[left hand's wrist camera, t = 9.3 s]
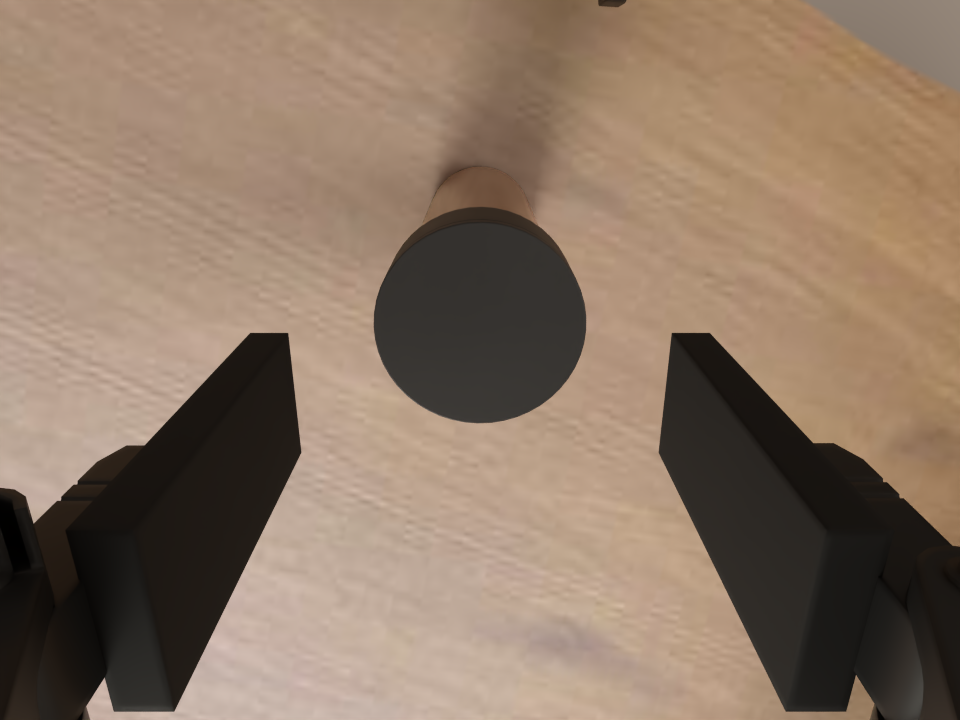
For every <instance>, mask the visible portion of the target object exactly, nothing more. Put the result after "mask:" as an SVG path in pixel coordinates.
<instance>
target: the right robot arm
mask: <svg viewBox="0 0 960 720" xmlns="http://www.w3.org/2000/svg"><path fill="white" fill-rule="evenodd" d="M625 2H626V0H598V4H599V6H607V7H619V6H621V5H623V4H624V3H625Z"/></svg>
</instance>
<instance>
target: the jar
mask: <svg viewBox="0 0 960 720" xmlns="http://www.w3.org/2000/svg"><path fill="white" fill-rule="evenodd" d="M468 207H491V208H498V209H502V210H507V211H510V212H513V213H515V214H518V215H521V216H522V217H524V218H526V219H528V220H530V221H532V222H533V223H535V224H536V225H537V226H538V224H537V221H536V219H535V217H534V214H533V212H532V210H531V207H530V205H529V203H528V200H527V198H526V196H525V193H524V192H523V190H522V189H521V187H520V186H519V185H518V183H517V182H516V181H515V180H514V179H512V178H511V177H510V176H508V175H507V174H505V173H504V172H502V171H499V170H497V169H494V168H490V167H471V168H466V169H463V170H460V171H458V172H456V173H455V174H453V175H452V176H450V177H449V178H448V179H446V180H445V181H444V182H443V184H442V185H441V186H440V187H439V189H438V190H437V192H436V194H435V196H434V198H433V200H432V203H431V205H430V207H429V210H428V212H427V214H426V217H425V219H424V221H423V224H422V225H424V224H425V223H427V222H429V221H430V220H432V219H434V218H436V217H438V216H440V215H442V214H444V213H447V212H450V211H453V210H457V209H462V208H468Z"/></svg>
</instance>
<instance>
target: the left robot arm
mask: <svg viewBox="0 0 960 720" xmlns="http://www.w3.org/2000/svg"><path fill="white" fill-rule="evenodd" d="M300 454H301V445H300V436H299V427H298V418H297V409H296V400H295V391H294V382H293V373H292V364H291V355H290V346H289V337H288V333H250V334H249V335H248V336H247V337H246V338H245V339H244V340H243V341H242V342H241V343H240V345H239V346H238V347H237V348H236V349H235V350H234V351H233V352H232V353H231V354H230V355H229V356H228V357H227V358H226V359H225V361H224V362H223V363H222V364H221V365H220V366H219V367H218V368H217V369H216V370H215V371H214V372H213V373H212V374H211V375H210V376H209V378H208V379H207V380H206V381H205V382H204V383H203V384H202V385H201V386H200V387H199V388H198V389H197V390H196V391H195V392H194V394H193V395H192V396H191V397H190V398H189V399H188V400H187V401H186V402H185V403H184V404H183V405H182V406H181V407H180V408H179V410H178V411H177V412H176V413H175V414H174V415H173V416H172V417H171V418H170V419H169V420H168V421H167V422H166V423H165V424H164V425H163V427H162V428H161V429H160V430H159V431H158V432H157V433H156V434H155V435H154V436H153V437H152V438H151V439H150V440H149V441H148V443H147V444H146V445H145V446H125V447H123V448H121V449H120V450H118V451H116V452H114V453H112V454H111V455H109V456H107V457H105V458H103V459H101V460H100V461H98V462H97V463H96V464H95V465H93V466H92V467H91V468H90V469H89V470H88V471H87V472H86V473H85V474H84V475H83V476H82V477H81V478H80V479H79V480H78V484H77V485H73V486H72V487H71V488H70V489H69V490H68V491H67V492H66V493H65V494H64V495H63V496H62V497H61V501H57V502H56V503H55V504H54V505H52V506H51V507H50V508H49V509H48V510H47V511H46V512H45V513H44V514H43V515H42V516H41V517H40V518H39V519H38V520H37V521H36V522H35V523H34V524H33V520H32V517H31V513H30V510H29V507H28V503H27V500H26V496H24V495H22V494H21V493H19V492H18V491H16V490H13V489H5V488H0V720H90V718H89V714H88V711H87V707H86V706H87V704H88V702H89V701H90V699H91V698H92V696H93V695H94V693H95V691H96V690H97V688H98V687H99V685H100V684H101V682H102V681H103V679H104V677H105V680H106V684H107V687H108V691H109V695H110V699H111V702H112V706H113V710H114V712H174V711H175V709H176V707H177V705H178V703H179V701H180V699H181V697H182V695H183V693H184V691H185V688H186V686H187V684H188V682H189V680H190V678H191V676H192V674H193V672H194V670H195V668H196V666H197V664H198V662H199V660H200V658H201V656H202V654H203V652H204V650H205V648H206V646H207V644H208V642H209V640H210V638H211V636H212V633H213V631H214V629H215V627H216V625H217V623H218V621H219V619H220V617H221V615H222V613H223V611H224V609H225V607H226V605H227V603H228V601H229V599H230V597H231V595H232V593H233V591H234V589H235V587H236V585H237V583H238V580H239V578H240V576H241V574H242V572H243V570H244V568H245V566H246V564H247V562H248V560H249V558H250V556H251V554H252V552H253V550H254V548H255V546H256V544H257V542H258V540H259V538H260V536H261V534H262V532H263V530H264V528H265V525H266V523H267V521H268V519H269V517H270V515H271V513H272V511H273V509H274V507H275V505H276V503H277V501H278V499H279V497H280V495H281V493H282V491H283V489H284V487H285V485H286V483H287V481H288V479H289V477H290V475H291V473H292V470H293V468H294V466H295V464H296V462H297V460H298V458H299V456H300ZM659 454H660V456H661V458H662V460H663V462H664V464H665V466H666V468H667V470H668V473H669V475H670V477H671V479H672V481H673V483H674V485H675V487H676V489H677V491H678V493H679V495H680V497H681V499H682V501H683V503H684V505H685V507H686V509H687V511H688V513H689V515H690V517H691V519H692V521H693V523H694V525H695V528H696V530H697V532H698V534H699V536H700V538H701V540H702V542H703V544H704V546H705V548H706V550H707V552H708V554H709V556H710V558H711V560H712V562H713V564H714V566H715V568H716V570H717V572H718V574H719V576H720V578H721V580H722V583H723V585H724V587H725V589H726V591H727V593H728V595H729V597H730V599H731V601H732V603H733V605H734V607H735V609H736V611H737V613H738V615H739V617H740V619H741V621H742V623H743V625H744V627H745V629H746V631H747V633H748V636H749V638H750V640H751V642H752V644H753V646H754V648H755V650H756V652H757V654H758V656H759V658H760V660H761V662H762V664H763V666H764V668H765V670H766V672H767V674H768V676H769V678H770V680H771V682H772V684H773V686H774V688H775V691H776V693H777V695H778V697H779V699H780V701H781V703H782V705H783V707H784V709H785V711H786V712H846V710H847V706H848V702H849V699H850V695H851V691H852V687H853V684H854V680H855V676H856V675H857V677H858V678H859V680H860V682H861V683H862V685H863V686H864V688H865V689H866V691H867V692H868V694H869V696H870V697H871V699H872V700H873V702H874V703H875V704H874V707H873V711H872V714H871V718H870V720H960V547H957V546H952V545H951V544H950V543H949V542H948V541H947V540H946V539H945V538H944V537H943V536H942V535H941V534H940V533H939V532H938V531H937V530H936V529H935V528H934V527H933V526H932V525H930V524H929V523H928V522H927V521H926V520H925V519H924V518H923V517H922V516H921V515H920V514H919V513H918V512H917V511H916V510H915V509H914V508H913V507H912V506H911V505H910V504H909V503H908V502H907V501H906V500H905V499H904V498H900V497H899V494H898V493H897V492H896V491H895V490H894V489H893V488H892V487H891V486H890V485H889V484H888V483H887V482H883V478H882V477H881V476H880V475H879V474H878V473H877V472H876V471H875V470H874V469H873V468H872V467H871V466H870V465H868V464H867V463H866V462H865V461H864V460H863V459H861V458H860V457H858V456H856V455H854V454H852V453H851V452H849V451H847V450H845V449H843V448H841V447H840V446H838V445H836V444H834V443H812V441H811V440H810V439H809V438H808V437H807V436H806V435H805V434H804V433H803V432H802V431H801V430H800V429H799V428H798V427H797V425H796V424H795V423H794V422H793V421H792V420H791V419H790V418H789V417H788V416H787V415H786V414H785V413H784V412H783V411H782V410H781V408H780V407H779V406H778V405H777V404H776V403H775V402H774V401H773V400H772V399H771V398H770V397H769V396H768V395H767V394H766V392H765V391H764V390H763V389H762V388H761V387H760V386H759V385H758V384H757V383H756V382H755V381H754V380H753V379H752V378H751V376H750V375H749V374H748V373H747V372H746V371H745V370H744V369H743V368H742V367H741V366H740V365H739V364H738V363H737V362H736V361H735V359H734V358H733V357H732V356H731V355H730V354H729V353H728V352H727V351H726V350H725V349H724V348H723V347H722V346H721V345H720V343H719V342H718V341H717V340H716V339H715V338H714V337H713V336H712V335H711V334H710V333H672V337H671V346H670V355H669V364H668V373H667V382H666V391H665V400H664V409H663V418H662V427H661V436H660V445H659Z"/></svg>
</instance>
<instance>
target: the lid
mask: <svg viewBox="0 0 960 720" xmlns="http://www.w3.org/2000/svg"><path fill="white" fill-rule="evenodd" d="M374 333H375V341H376V344H377V348H378V352H379V355H380V357H381V360H382V362H383V365H384V366H385V368H386V370H387V372H388V373H389V375H390V377H391V378H392V379H393V381H394V382H395V383H396V385H397V386H398V387H399V388H400V389H401V390H402V391H403V392H404V393H405V394H406V395H407V396H408V397H409V398H411V399H412V400H413V401H414V402H416V403H417V404H419V405H420V406H422V407H423V408H425V409H427V410H428V411H431V412H433V413H435V414H437V415H439V416H442V417H445V418H448V419H452V420H456V421H461V422H469V423H492V422H498V421H504V420H508V419H511V418H515V417H518V416H520V415H523V414H525V413H527V412H530V411H531V410H533V409H535V408H537V407H538V406H540V405H541V404H543V403H544V402H546V401H547V400H548V399H550V398H551V397H552V396H553V395H554V394H555V393H556V392H557V391H558V390H559V389H560V388H561V387H562V386H563V384H564V383H565V382H566V381H567V379H568V378H569V377H570V375H571V373H572V372H573V370H574V368H575V367H576V364H577V362H578V360H579V358H580V355H581V352H582V348H583V345H584V340H585V333H586V312H585V304H584V300H583V296H582V293H581V290H580V287H579V285H578V283H577V280H576V278H575V276H574V274H573V272H572V270H571V268H570V266H569V264H568V262H567V260H566V258H565V256H564V255H563V253H562V251H561V250H560V248H559V247H558V245H557V244H556V243H555V242H554V240H553V239H552V238H551V237H550V236H549V235H548V234H547V233H546V232H545V231H544V230H543V229H542V228H540V227H539V226H537V225H536V224H535V223H533V222H532V221H530V220H528V219H526V218H524V217H522V216H521V215H518V214H515V213H513V212H510V211H507V210H502V209H498V208H491V207H468V208H462V209H457V210H453V211H450V212H447V213H444V214H442V215H440V216H438V217H436V218H434V219H432V220H430V221H429V222H427V223H425V224H424V225H422V226H421V227H420V228H419V229H418V230H416V231H415V232H414V233H413V234H412V235H411V236H410V237H409V238H408V239H407V240H406V242H405V243H404V244H403V245H402V247H401V248H400V250H399V251H398V253H397V254H396V256H395V258H394V260H393V262H392V264H391V266H390V268H389V270H388V272H387V274H386V276H385V279H384V281H383V283H382V285H381V287H380V290H379V293H378V296H377V300H376V305H375V311H374Z"/></svg>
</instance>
